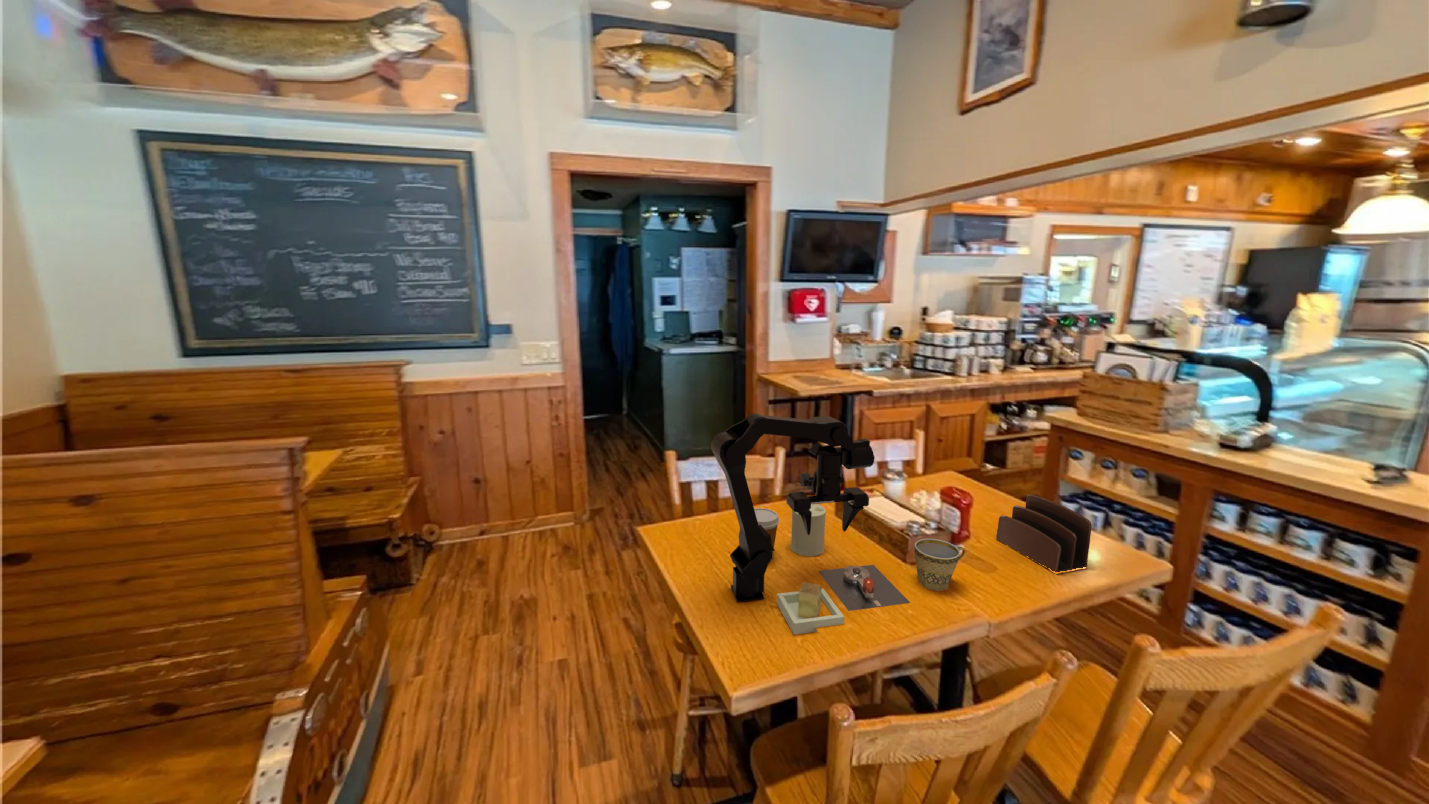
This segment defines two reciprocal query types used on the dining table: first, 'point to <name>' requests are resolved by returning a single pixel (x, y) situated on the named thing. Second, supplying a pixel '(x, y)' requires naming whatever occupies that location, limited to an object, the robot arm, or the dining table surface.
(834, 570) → the machine bed
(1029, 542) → the letter holder
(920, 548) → the ceramic cup
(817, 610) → the block
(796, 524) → the can
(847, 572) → the crank
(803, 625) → the tray
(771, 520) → the disposable coffee cup
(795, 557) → the dining table surface
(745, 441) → the robot arm
